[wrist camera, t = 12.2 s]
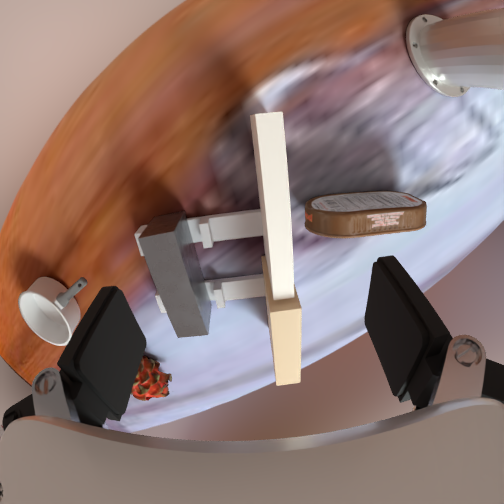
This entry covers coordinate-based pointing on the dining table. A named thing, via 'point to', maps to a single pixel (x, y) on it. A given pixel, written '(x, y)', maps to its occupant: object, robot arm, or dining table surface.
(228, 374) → the dining table surface
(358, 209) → the tin
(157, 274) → the grey metal block
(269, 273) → the white rack
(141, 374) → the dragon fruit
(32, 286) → the saucepan
